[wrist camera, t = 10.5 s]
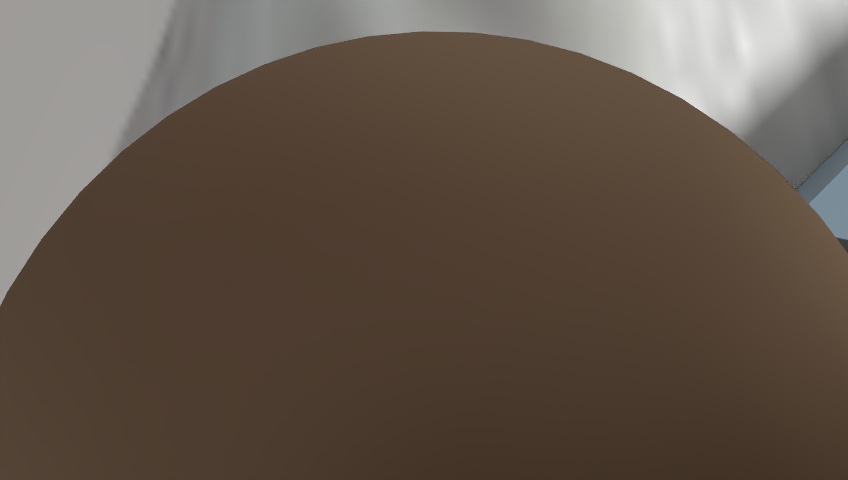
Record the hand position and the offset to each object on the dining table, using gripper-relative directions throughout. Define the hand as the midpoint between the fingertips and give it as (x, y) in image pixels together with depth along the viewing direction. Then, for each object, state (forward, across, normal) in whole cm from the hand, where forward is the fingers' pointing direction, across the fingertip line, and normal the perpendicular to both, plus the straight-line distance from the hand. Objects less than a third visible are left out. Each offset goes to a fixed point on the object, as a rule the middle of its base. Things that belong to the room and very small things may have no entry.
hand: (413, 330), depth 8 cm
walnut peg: (+6, 0, +7) cm, 9 cm away
